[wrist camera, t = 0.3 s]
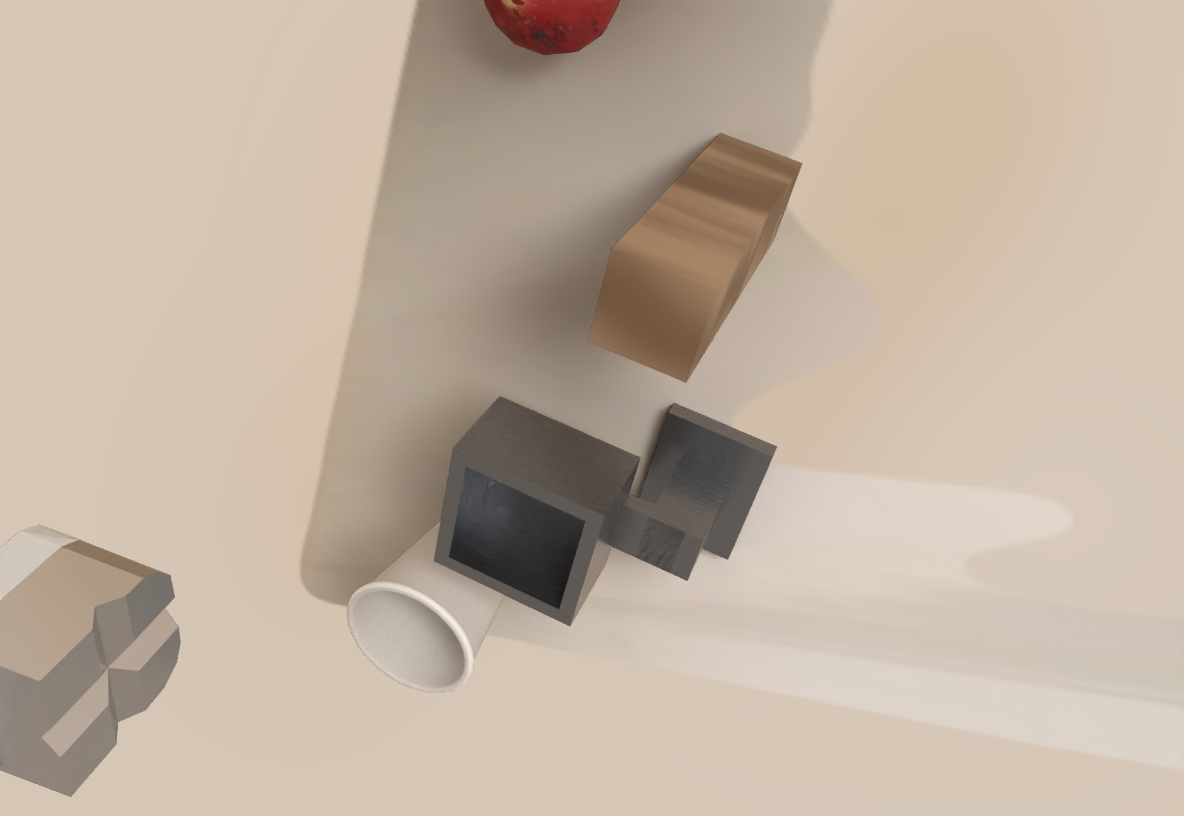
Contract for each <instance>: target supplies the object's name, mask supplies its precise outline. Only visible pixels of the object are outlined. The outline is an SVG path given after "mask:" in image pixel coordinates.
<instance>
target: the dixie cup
mask: <svg viewBox="0 0 1184 816" xmlns="http://www.w3.org/2000/svg"><path fill="white" fill-rule="evenodd" d="M439 527H440V522H439V523H437V524H436V525H435V526H434V527H433V528H432V529H431V530H429V531H428V532H427V533H426V534H425V535H424V536H423V537H422V538H420V539H419V540H418V541H417V542H416V543H415V544H414V545H413V546H411V547H410V548H409V549H408V550H407V551H406V552H405V553H403V554H402V555H401V556H400V557H399V558H398V559H397V560H396V561H394V562H393V563H392V564H391V565H390V566H389V567H388V568H387V569H385V570H384V571H383V572H382V573H381V574H380V575H379V576H377V577H376V578H375V579H374V580H373V581H372V582H371V583H368V584H366V585H364V586H362V587H360V588H359V589H357V590H356V591H355V592H354V593H353V595H352V596H351V598H350V600H349V603H348V607H347V619H348V625H349V628H350V631H351V634H352V636H353V638H354V640H355V642H356V644H357V645H358V647H359V648H360V650H361V651H362V652H363V654H364V655H365V656H366V657H367V658H368V659H369V660H370V662H371V663H373V664H374V665H375V666H376V667H377V668H378V669H379V670H381V671H382V672H383V673H384V674H386V675H387V676H389V677H390V678H392V679H394V680H395V681H397V682H399V683H401V684H403V685H405V686H407V687H410V688H413V689H416V690H419V691H424V692H430V693H445V692H450V691H453V690H456V689H458V688H460V687H461V686H462V685H464V684H465V683H466V682H467V680H468V679H469V677H470V675H471V673H472V670H473V665H474V659H475V657H476V655H477V653H478V651H479V648H480V646H481V644H482V642H483V640H484V638H485V636H486V634H487V632H488V630H489V627H490V625H491V623H492V621H493V619H494V617H495V615H496V613H497V611H498V608H499V606H500V604H501V602H502V600H503V598H504V596H505V595H503V594H501V593H499V592H497V591H495V590H493V589H491V588H489V587H486V586H484V585H482V584H480V583H478V582H476V581H474V580H472V579H470V578H468V577H466V576H463V575H461V574H459V573H457V572H455V571H453V570H451V569H449V568H447V567H445V566H442V565H440V564H438V563H436V562H434V556H435V550H436V544H437V538H438V533H439Z"/></svg>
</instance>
